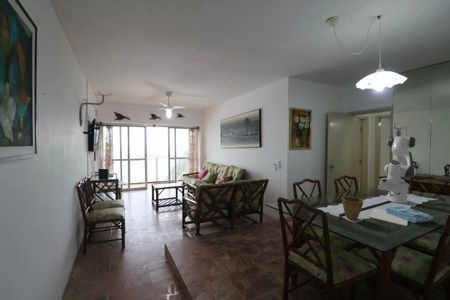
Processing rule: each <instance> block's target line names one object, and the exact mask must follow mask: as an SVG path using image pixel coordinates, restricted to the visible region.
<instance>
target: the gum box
mask: <svg viewBox="0 0 450 300" xmlns="http://www.w3.org/2000/svg"><path fill="white" fill-rule="evenodd" d="M385 211H386V213H389V214H391V215H394V216H397V217H399V218H402V219H405V220H407V221H408V222H410V223H413V224H422V223H429V222H433V221H434V215H432V214H431V215H430V214H428V213H426V212H422V211H419V210H415V209H412V208H409V207H406V206H404V205H403V206H391V207H390V206H389V207H386V209H385Z"/></svg>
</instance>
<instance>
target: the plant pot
mask: <svg viewBox="0 0 450 300" xmlns="http://www.w3.org/2000/svg"><path fill="white" fill-rule="evenodd" d="M341 200H342V201H341V202H342V206H343V211H344V214H345V218H346V217H347V218H346V219H348V220H351V219H352V220H351V221H355V220H358V217H359V216H360V214H361V211H362V208H363V205H364V199H362V198H360V197H355V196H342V197H341Z"/></svg>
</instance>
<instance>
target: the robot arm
mask: <svg viewBox="0 0 450 300" xmlns="http://www.w3.org/2000/svg"><path fill="white" fill-rule="evenodd" d="M386 144H387V146H388V147H389V148H391V153H392V154H393V159H394V161H390V162H389V163H388V164H385V166H384V169H383V170H384V172H385V173H386V174H387V177H383V178H381V179H380V182H379V184H378V186H377V189H378V190H382V191H387V192H388V193H387V197H385V200H387V201H389V202H392V203H395V204H396V203H398V204H409V201H408V200H407V194H408V193H409V188H410V183H408V182H406V181H405V180H404V179H403V178H408V179H411V178H413V177H415V175H416V174H417V168H416V166H414V159H413V154H412V151H409V149H411V148H414V147H415V146H417V139H416V138H415V137H414V136H405V135H404V136H399V135H398V136H390V137H388V138H387V140H386Z"/></svg>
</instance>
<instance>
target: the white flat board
mask: <svg viewBox="0 0 450 300" xmlns="http://www.w3.org/2000/svg"><path fill="white" fill-rule="evenodd" d="M368 218H371V219H376V220H378V221H383V222H387V223H392V224H396V225H400V226H403V227H407V226H408V222H409V221H407V220H405V219H402V218H399V217H397V216H394V215H391V214H389V213H386V210H384V209H380V208H374V209H373V211H372V212H371V213H370V214H369V216H368Z"/></svg>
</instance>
